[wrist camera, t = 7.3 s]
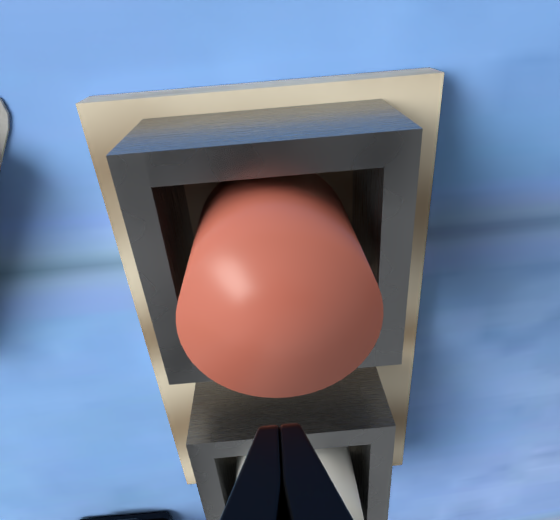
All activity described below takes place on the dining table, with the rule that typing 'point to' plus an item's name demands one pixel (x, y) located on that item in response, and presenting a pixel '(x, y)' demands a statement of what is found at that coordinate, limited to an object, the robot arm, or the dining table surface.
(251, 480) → the robot arm
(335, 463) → the white rounded tapered piece
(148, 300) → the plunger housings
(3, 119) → the emergency button
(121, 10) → the dining table surface
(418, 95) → the board
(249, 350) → the red plunger
